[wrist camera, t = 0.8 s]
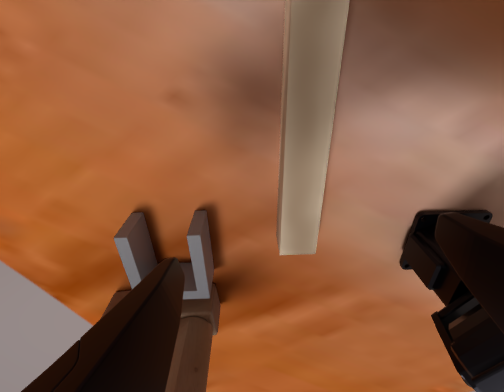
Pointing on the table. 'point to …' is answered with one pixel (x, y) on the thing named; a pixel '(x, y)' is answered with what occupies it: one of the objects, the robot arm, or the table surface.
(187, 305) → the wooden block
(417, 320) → the table surface
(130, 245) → the endcap
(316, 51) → the slat
